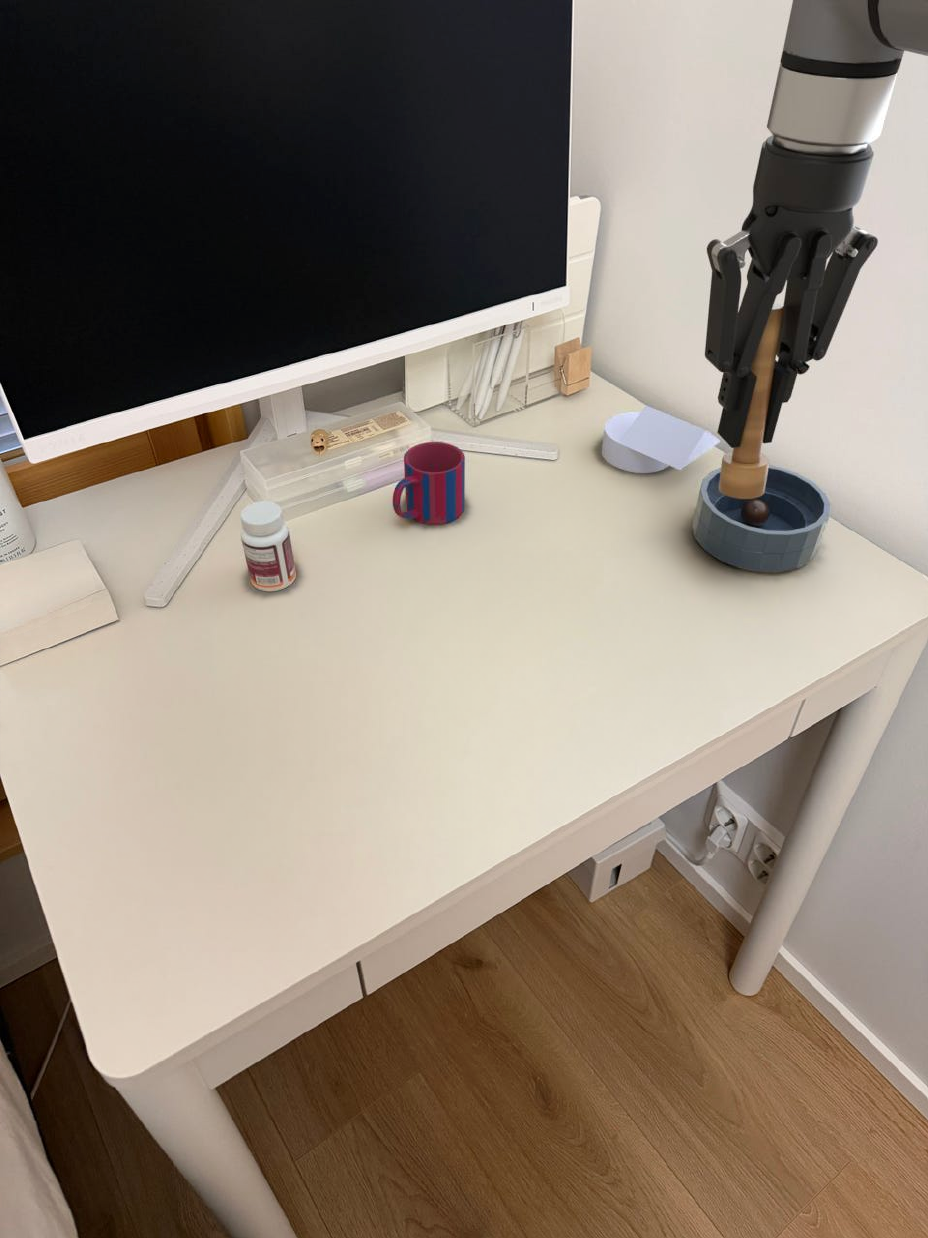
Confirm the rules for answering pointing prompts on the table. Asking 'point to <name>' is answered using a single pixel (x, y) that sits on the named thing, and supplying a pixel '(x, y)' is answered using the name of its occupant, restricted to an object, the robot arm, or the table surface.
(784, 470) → the bowl
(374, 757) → the table surface
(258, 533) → the pill bottle
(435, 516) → the mug
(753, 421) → the muddler
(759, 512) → the bead
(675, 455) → the wedge on round base
